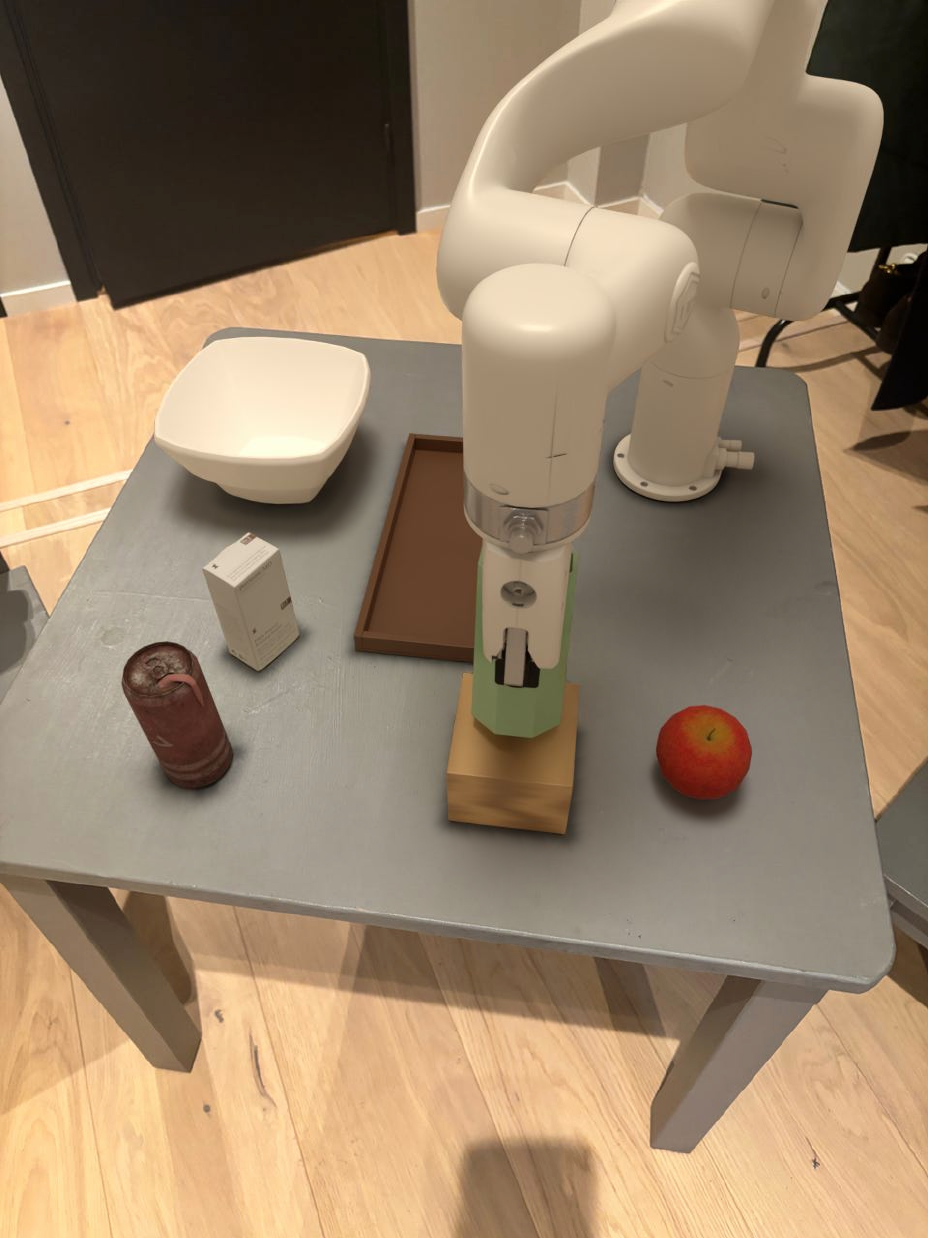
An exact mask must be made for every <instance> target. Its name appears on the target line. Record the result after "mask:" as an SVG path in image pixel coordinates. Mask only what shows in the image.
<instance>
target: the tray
mask: <svg viewBox="0 0 928 1238" xmlns="http://www.w3.org/2000/svg"><path fill="white" fill-rule="evenodd" d="M463 461H464V459H463V436H462V437H461V436H447V435H435V434H423V433H408V437H407V440H406V444H405V447H404V451H403V455H402V459H401V462H400V465H399V470H398V473H397V477H396V482H395V484H394V488H393V491H392V495H391V498H390V502H389V506H388V509H387V513H386V515H385V516H386V517H385V521H384V524H383V528H382V531H381V534H380V538H379V543H378V546H377V550H376V553H375V555H374V559H373V563H372V568H371V571H370V575H369V579H368V582H367V586H366V589H365V592H364V597H363V601H362V603H361V609H360V611H359V614H358V618H357V622H356V626H355V630H354V633H353V640H354V646H355V651H357V652H367V653H376V654H387V655H395V656H396V655H397V656H407V657H418V658H426V659H436V660H445V661H446V660H447V661H456V662H466V663H474V642H475V619H476V596H477V573H478V562H479V558H480V553H481V549H482V545H483V538H482V537H481V536H479V535H478V534H477V533H476V532H475V531H474V530H473V529H472V528H471V526H470V525H469V523H468V521H467V519H466V517H465V513H464V469H463Z"/></svg>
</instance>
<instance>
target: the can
mask: <svg viewBox="0 0 928 1238" xmlns="http://www.w3.org/2000/svg"><path fill="white" fill-rule="evenodd" d="M122 670H123V671H122V677H121V688H122V692H123V694H124V696H125V698H126V701H127V702H128V704H129V706H130V708H131V710H132V712H133V714H134V716H135V718H136V720H137V721H138V724H139V726H140V727H141V729H142V731H143V733H144V735H145V737H146V739H147V742H148V743H149V745H150V747H151V748H152V751H153V753H154V754H155V757H156V758H157V760H158V762H159V764H160V766H161V768H162V770H163V772H164V774H165V775H166V777H167V778H168V779H169V780H170V782H172V783H174V784H175V785H177V786H179V787H183V788H190V789H192V788H193V789H194V788H201V787H205V786H207V785H211V784H212V783H214V782H216V781H217V780H218V779H220V778H221V777H222V776H223V775H224V774H225V772H226V771H227V770H228V769H229V767H230V764H231V762H232V759H233V747H232V744H231V741H230V739H229V736H228V733H227V731H226V728H225V726H224V723H223V720H222V717H221V715H220V712H219V710H218V708H217V706H216V702H215V700H214V697H213V695H212V692H211V690H210V687H209V684H208V682H207V679H206V677H205V674H204V672H203V669H202V666H201V664H200V662H199V659H198V657H197V656H196V654H194V653H193V651H191V650H190V649H188V648H187V647H186V646H184V645H182V644H180V643H179V642H178V643H177V642H175V641H174V642H173V641H167V640H166V641H165V640H164V641H155V642H153V643H150V644H147V645H145V646H144V645H143V647H141V648H140V649H138V650H136V651H135V652H133V654H131V656H130V657H129V658H128V659H127V660H126V663H125V665H124V667H123V669H122Z"/></svg>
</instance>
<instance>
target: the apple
mask: <svg viewBox="0 0 928 1238" xmlns="http://www.w3.org/2000/svg"><path fill="white" fill-rule="evenodd" d="M655 754H656V759H657V763H658V766H659V769H660V772H661V775H662V776H663V778H665V780H666V781H667V783H668V784H670V785H671V787H672V788H673V789H674V790H676V791H677V792H678V793H680V794H682V795H684V796H685V797H689V798H693V799H697V800H717V799H720V798H722V797H724V796H727V795H728V794H730V793H731V792H734V791H735V790H736V789H738V788H739V787H740V785H741V784H742V783H743V781H744V779H745V778H746V776H747V775H748V773H749V771H750V768H751V762H752V758H753V748H752V744H751V740H750V737H749V734H748V731H747V729H746V728H745V726H744V725H743V724H742V723H741V722H740V721H739V720H738V718H737V717H736V716H734V715H732V714H731V713H730V712H727V711H726V710H724V709H722V708H719V707H715V706H710V705H707V704H702V705H701V704H700V705H690V706H687V707H685V708H683V709H681V710H679V711H677V712H675V713H674V714H672V715H671V716H670V717H669V718H668V719H667V720H666V722H665V723H664V724H663V725H662V727H661V728H660V729H659V732H658V735H657V741H656V745H655Z"/></svg>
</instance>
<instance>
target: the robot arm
mask: <svg viewBox="0 0 928 1238" xmlns="http://www.w3.org/2000/svg"><path fill="white" fill-rule="evenodd" d="M817 13H818V0H615V3H614V5H613V8H612V11H611V13H610V15H609V16H608V17H607V18H605V19H603V20H602V21H600V22H599V23H596V25H594V26H591V28H589V29H587V30H586V31H584V32H582V33H581V34H579V35H578V36H576V37H575V38H574V39H572V40H570V41H569V42H568V43H566V44H564V45H563V46H562V47H560V48H559V49H558V50H556V51H554V53H552V54H550V56H548V57H547V58H546V59H545V60H543V61H542V62H541V63H540V64H539V65H537V66H536V67H534V69H533V70H531V71H530V72H529V73H528V74H526V75H525V76H524V77H523V78H522V79H521V80H519V81H518V82H517V83H516V84H515V85H514V86H513V87H512V88H511V89H510V90H509V91H508V92H507V93H506V94H505V95H504V96H503V98H502V99H501V100H500V101H499V102H498V103H497V104H496V106H495V107H494V109H493V110H492V111H491V112H490V114H489V115H488V117H487V118H486V120H485V122H484V124H483V125H482V127H481V128H480V129H481V130H479V133H478V135H477V138H476V140H475V142H474V144H473V147H472V150H471V152H470V154H469V157H468V159H467V161H466V164H465V167H464V169H463V171H462V173H461V176H460V179H459V181H458V183H457V187H456V189H455V191H454V195H453V197H452V199H451V200H452V201H451V202H450V205H449V207H448V210H447V214H446V217H445V221H444V224H443V227H442V230H441V234H440V238H439V243H438V249H437V252H436V253H437V255H436V267H435V272H436V273H435V274H436V284H437V289H438V292H439V296H440V299H441V300H442V303H443V304H444V306H445V307H446V308H447V311H449V312H450V313H451V315H453V317H455V318H456V319H458V320H460V321H461V378H462V379H461V381H462V385H461V386H462V390H461V391H462V437H463V459H464V461H463V469H464V513H465V517H466V519H467V521H468V523H469V525H470V526H471V528H472V529H473V530H474V531H475V532H476V533H477V534H478V535H479V536H481V537H482V538H483V553H482V625H483V650H484V655H485V657H486V658H487V659H488V661H490V662H491V663H492V662H493V660H495V683H496V684H498V685H506V686H509V687H513V688H524V687H526V688H537V687H538V686H539V677H540V668H543V669H552V668H554V667H555V666H556V665H557V664H558V662H559V657H560V649H561V639H562V630H563V622H564V613H565V605H566V596H567V588H568V579H569V571H570V561H571V551H572V550H573V549H572V548H573V541H574V540H575V539H577V538H579V536H580V535H582V533H583V532H585V530H586V528H587V527H588V525H589V524H590V521H591V518H592V514H593V505H594V499H595V492H596V484H597V477H598V469H599V463H600V462H599V461H600V452H601V447H602V439H603V433H604V432H603V431H604V424H605V414H606V406H607V400H608V396H609V394H610V392H612V391H613V390H615V388H617V386H619V385H620V384H621V383H623V382H624V380H626V379H627V378H629V377H630V376H631V375H632V374H634V373H635V372H636V371H638V370H640V369H641V372H640V377H639V383H638V389H637V395H636V401H635V407H634V414H633V419H632V425H631V426H632V427H631V431H630V433H629V434H627V435H626V436H624V437H623V438H622V439H621V440H620V441H619V442H618V444H617V446H616V447H615V450H614V454H613V461H612V462H613V463H612V464H613V469H614V471H615V474H616V476H617V477H618V478H619V480H620V481H621V482H622V483H623V484H624V485H625V486H626V487H627V488H629V489H630V490H632V491H633V492H635V493H637V494H639V495H641V496H644V497H646V498H649V499H653V500H657V501H664V502H686V501H691V500H694V499H698V498H700V497H703V496H705V495H707V494H708V493H710V492H711V491H712V490H713V489H714V488H715V487H716V486H717V485H718V483H719V481H720V479H721V476H722V472H723V470H724V469H725V468H735V469H741V470H753V468H754V463H755V452H752V451H751V452H750V451H741V450H742V446H743V444H742V443H743V441H742V440H737V439H722V437H721V436H718V433H719V429H720V425H721V421H722V417H723V414H724V410H725V405H726V401H727V397H728V394H729V390H730V386H731V382H732V378H733V374H734V371H735V366H736V363H737V359H738V355H739V351H740V345H741V334H740V327H739V323H738V320H737V317H736V314H735V311H734V310H736V311H740V312H745V313H749V314H754V315H758V316H763V317H768V318H773V319H776V320H782V321H783V320H784V321H789V322H805V321H808V320H809V321H810V320H811V319H814V318H815V317H817V316H818V315H819V314H820V313H821V312H822V310H824V308H825V307H826V306H827V304H828V303H829V301H830V299H831V297H832V295H833V293H834V290H835V289H836V285H837V283H838V281H839V277H840V274H841V271H842V269H843V265H844V263H845V259H846V256H847V252H848V250H849V247H850V243H851V240H852V238H853V235H854V231H855V227H856V225H857V221H858V218H859V215H860V212H861V209H862V206H863V203H864V200H865V196H866V193H867V190H868V187H869V184H870V182H871V181H870V180H871V178H872V175H873V171H874V167H875V165H876V161H877V157H878V153H879V149H880V146H881V140H882V136H883V130H884V108H883V102H882V100H881V97H879V94H877V93H876V91H874V90H873V89H872V88H870V87H869V86H866V85H864V84H861V83H858V82H854V81H849V80H843V79H837V78H830V77H822V76H817V75H811V74H808V73H807V72H806V69H805V64H806V58H807V54H808V51H809V46H810V42H811V38H812V33H813V29H814V26H815V22H816V19H817ZM683 124H686V127H685V128H686V129H685V137H684V153H683V157H684V164H685V169H686V172H687V173H688V175H689V177H690V178H691V179H692V180H693V181H694V182H696V183H697V184H698V185H702V187H706V188H709V189H712V190H715V191H720V192H723V193H728V194H731V195H728V194H723V193H718V192H717V193H716V192H692V193H691V192H690V193H687V194H683V195H680V196H678V197H676V198H675V199H674V200H672V201H671V202H670V203H669V204H667V206H666V207H665V208H664V209H663V210H662V212H661V213H660V216H659V218H658V219H656V218H651V217H648V216H643V215H638V214H633V213H627V212H622V211H617V210H611V209H607V208H601V207H599V206H597V205H592V204H589V203H588V204H587V203H582V202H578V201H572V200H567V199H563V198H557V197H553V196H547V195H543V194H542V195H541V194H537V193H533V192H534V190H535V189H536V187H537V186H539V184H540V183H542V181H543V180H544V179H545V178H546V177H547V176H548V175H550V173H552V172H553V171H555V170H556V169H557V168H558V167H559V166H562V165H564V164H565V163H567V162H568V161H570V160H571V159H574V158H575V157H578V156H580V155H582V154H584V153H587V152H589V151H591V150H594V149H595V150H596V149H597V148H601V147H603V146H607V145H610V144H614V143H618V142H622V141H627V140H630V139H633V138H637V137H641V136H645V135H649V134H653V133H656V132H660V131H662V130H667V129H670V128H674V127H677V126H680V125H683ZM732 194H733V195H732ZM734 195H738V196H734ZM740 196H744V197H740ZM746 197H749V198H746ZM751 198H754V199H751ZM755 199H759V200H755ZM761 200H763V201H761ZM764 201H770V202H773V203H774V202H775V203H779V204H773V203H770V202H769V203H768V202H764ZM780 203H781V204H784V205H781V204H780ZM785 204H786V205H792V206H795V207H796V208H794V207H791V206H785Z"/></svg>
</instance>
